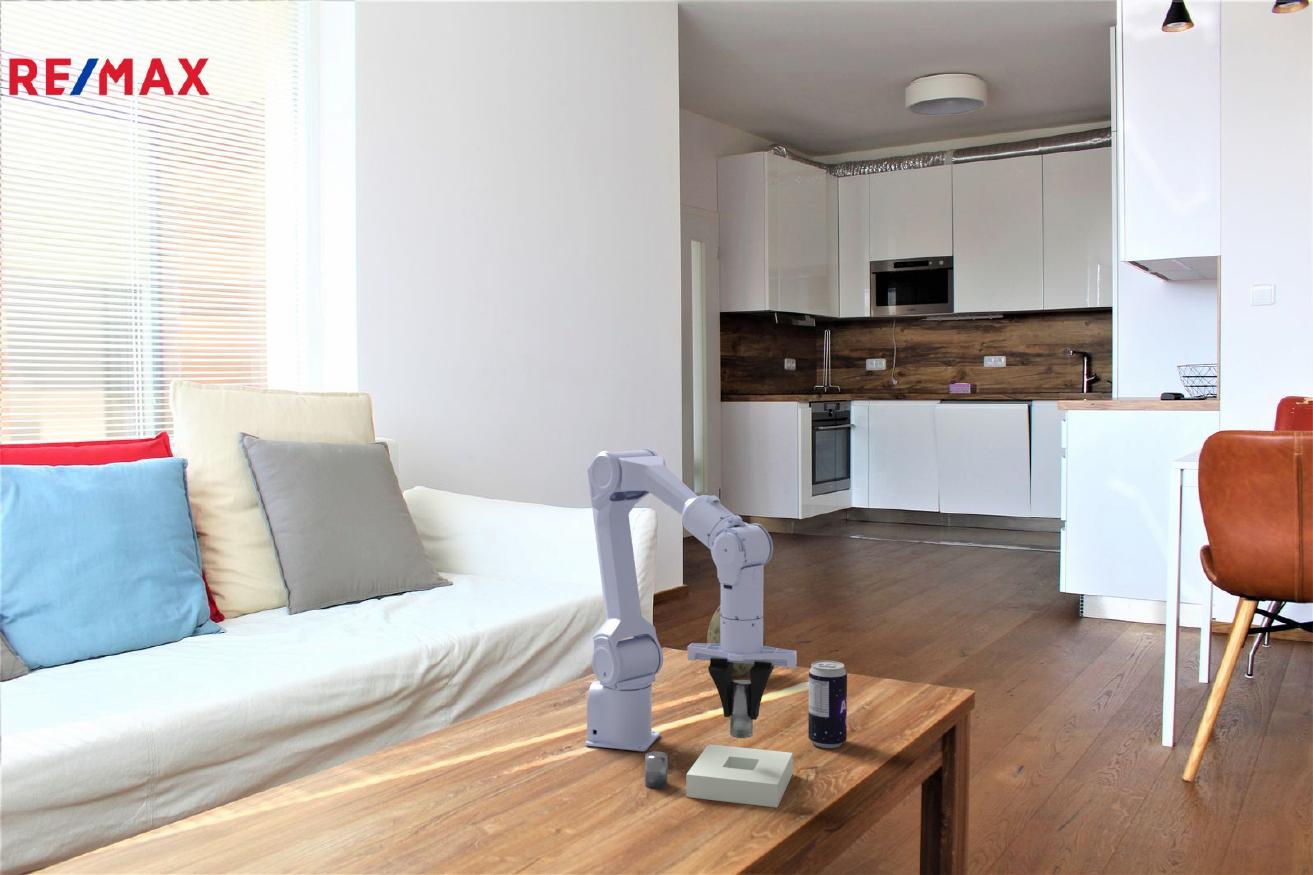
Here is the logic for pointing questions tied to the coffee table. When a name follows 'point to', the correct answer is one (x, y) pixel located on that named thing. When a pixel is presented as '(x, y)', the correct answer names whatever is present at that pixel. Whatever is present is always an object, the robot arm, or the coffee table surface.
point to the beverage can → (827, 704)
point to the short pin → (656, 770)
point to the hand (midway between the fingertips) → (741, 716)
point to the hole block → (740, 775)
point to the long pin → (740, 709)
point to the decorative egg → (714, 637)
